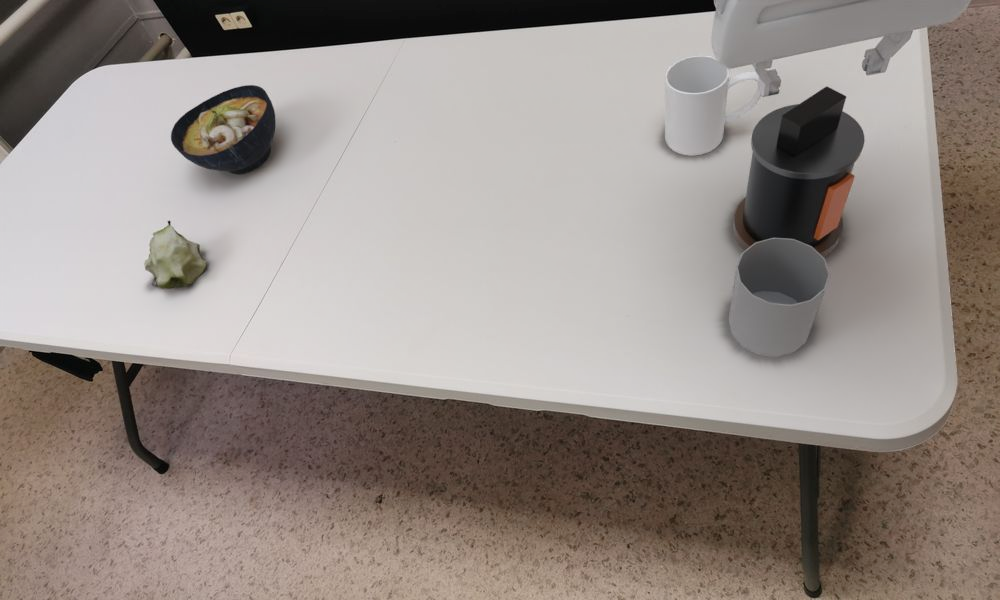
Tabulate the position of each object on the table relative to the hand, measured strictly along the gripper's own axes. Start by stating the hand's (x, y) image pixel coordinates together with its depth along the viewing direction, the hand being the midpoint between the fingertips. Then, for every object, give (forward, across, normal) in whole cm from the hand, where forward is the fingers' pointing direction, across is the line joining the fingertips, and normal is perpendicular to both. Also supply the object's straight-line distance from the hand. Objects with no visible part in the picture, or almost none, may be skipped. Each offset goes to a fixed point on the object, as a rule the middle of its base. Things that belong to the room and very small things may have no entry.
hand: (819, 81), depth 58 cm
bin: (+20, 0, 0) cm, 20 cm away
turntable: (+21, 0, 0) cm, 21 cm away
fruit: (+21, -85, +12) cm, 88 cm away
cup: (+21, -6, -13) cm, 26 cm away
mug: (+21, -5, +19) cm, 29 cm away
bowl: (+21, -80, +36) cm, 90 cm away
